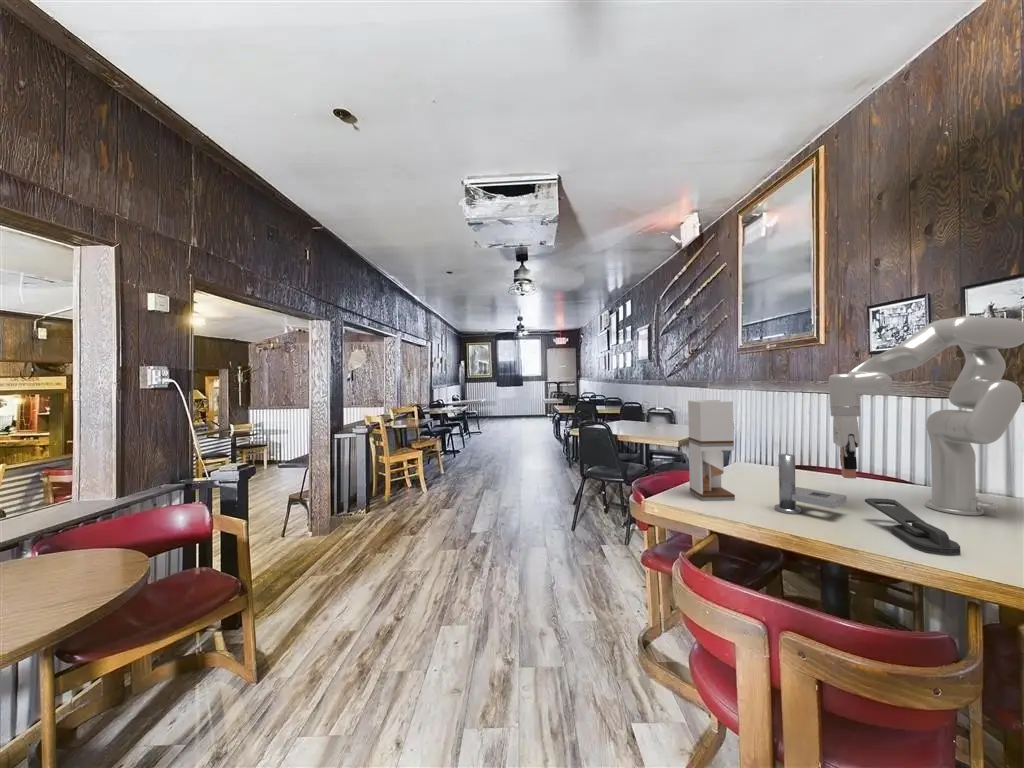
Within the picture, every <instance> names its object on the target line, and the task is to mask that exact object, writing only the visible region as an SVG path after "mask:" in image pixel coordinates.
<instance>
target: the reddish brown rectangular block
mask: <svg viewBox="0 0 1024 768" xmlns="http://www.w3.org/2000/svg"><path fill="white" fill-rule="evenodd" d="M846 447H849V446H846ZM847 450H848V449H847ZM843 456H844V446H843V447H842V448H841V461H840V466H841V476H842V477H843V479H855V480H856V479H857V469H845V468H844V460H843Z"/></svg>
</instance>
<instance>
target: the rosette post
mask: <svg viewBox="0 0 1024 768" xmlns="http://www.w3.org/2000/svg"><path fill="white" fill-rule="evenodd" d="M778 497H779V498H778V499H779V500H778V501H779V504H778V503H777V504H775V505H774V510H775V511H776V512H778V513H782V514H787V515H801V514H802V510H801V508H800V507H798V506H796V505H797V504H796V503H797V502H798V503H802V504H807V505H814V506H817V507H818V506H819V507H824V508H827V509H837V508H838V507H840V506H842V505H844V504H845V503H847V502H848V501H847V497H848V496H847V495H846V494H839V493H833V492H828V491H822V490H817V489H810V488H806V487H799V486H796V455H794V454H791V453H778Z"/></svg>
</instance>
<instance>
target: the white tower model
mask: <svg viewBox="0 0 1024 768" xmlns="http://www.w3.org/2000/svg"><path fill="white" fill-rule="evenodd" d="M687 402H688V403H687V407H688V408H687V409H688V414H687V416H688V419H687V420H688V459H689V462H688V465H689V467H688V469H689V493H690V494H691V495H693V496H694V497H696V498H697V499H699V501H702V502H711V501H712V502H715V501H716V502H720V501H722V502H725V501H727V502H728V501H736V497H735V496H736V494H734V493H732V492H730V491H729V490H727V489H725V488H723V487H722V475H723V474H724V472H725V471H724V452H723V451H734V450H735V447H734V446H735V439H734V438H735V437H734V436H735V433H734V401H731V400H730V401H720V399H702V400H687Z"/></svg>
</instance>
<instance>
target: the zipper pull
mask: <svg viewBox="0 0 1024 768" xmlns="http://www.w3.org/2000/svg"><path fill="white" fill-rule="evenodd" d="M864 503H865V504H867V505H869V506H871V507H873V508H874V509H875V510H878V511H879V512H881V513H882V514H884V515H885V516H887V517H889V518H890V519H892V520H893V521H895V522H897V523H898V524H895V525H891V527H890V528H891V529H890V531H891V532H890V533H891V535H893V536H894V537H895V538H897V539H898V540H900V541H901V542H903V543H904V544H906V545H907V546H909V547H911V549H913V550H917V551H919V552H923V553H926V554H931V555H937V556H951V557H952V556H961V545H960V544H959V543H958V542H957V541H955V540H953V539H950V536H949V535H948V533H947V532H946V531H945V530H942V529H940V528H939V527H937V526H934V525H932V524H930V523H927V522H926V521H925V520H923V519H921V517H919V516H917V515H916V514H915V513H913V512H912V511H911V510H910V509H908V508H906V507H905V506H904V505H902V504H901V503H899V502H898V501H897V500H896V499H890V498H877V497H876V498H875V497H874V498H871V497H868V498H864Z"/></svg>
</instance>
